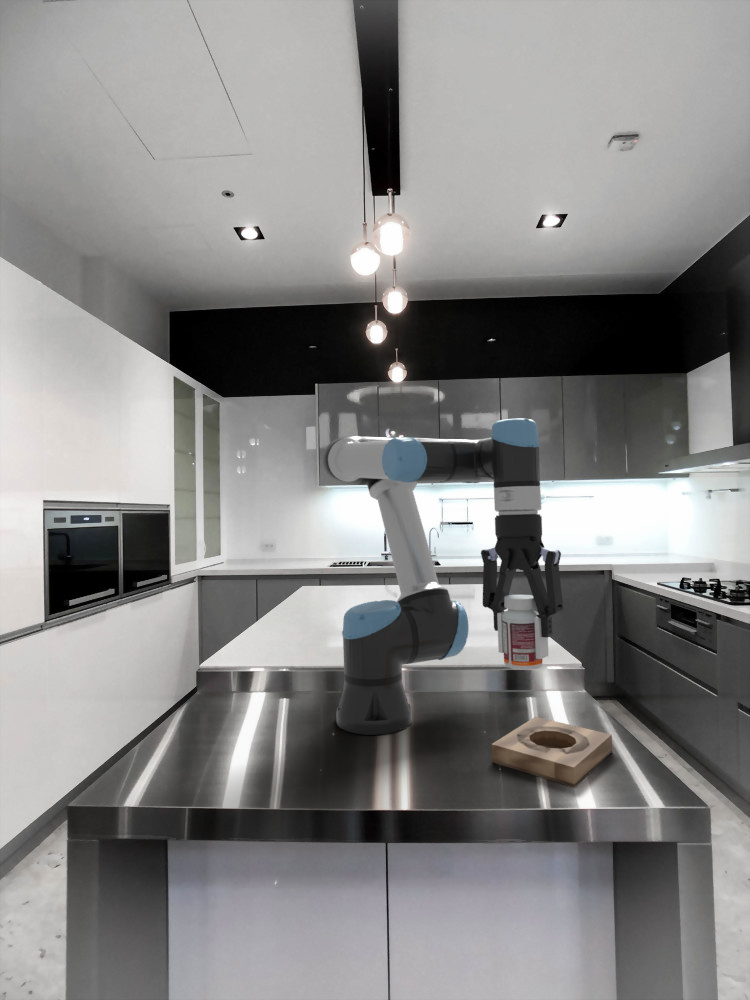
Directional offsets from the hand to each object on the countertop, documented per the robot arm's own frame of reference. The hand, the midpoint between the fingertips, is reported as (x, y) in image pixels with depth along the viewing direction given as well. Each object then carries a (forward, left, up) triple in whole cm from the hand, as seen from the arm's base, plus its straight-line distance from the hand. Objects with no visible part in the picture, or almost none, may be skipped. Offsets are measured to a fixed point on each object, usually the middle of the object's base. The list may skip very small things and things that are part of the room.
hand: (523, 653), depth 94 cm
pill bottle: (0, 0, -2) cm, 2 cm away
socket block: (+2, +6, -18) cm, 19 cm away
